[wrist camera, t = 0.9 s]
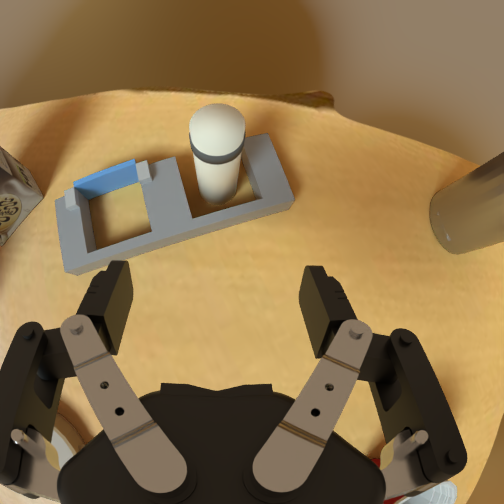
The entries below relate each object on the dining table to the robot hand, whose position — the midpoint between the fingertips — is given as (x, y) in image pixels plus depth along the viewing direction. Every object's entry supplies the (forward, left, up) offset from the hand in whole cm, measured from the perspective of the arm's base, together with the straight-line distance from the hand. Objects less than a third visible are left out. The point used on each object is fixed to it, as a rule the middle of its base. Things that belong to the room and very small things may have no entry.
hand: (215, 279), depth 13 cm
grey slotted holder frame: (+2, -11, -17) cm, 20 cm away
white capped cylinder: (-3, -11, -17) cm, 20 cm away
